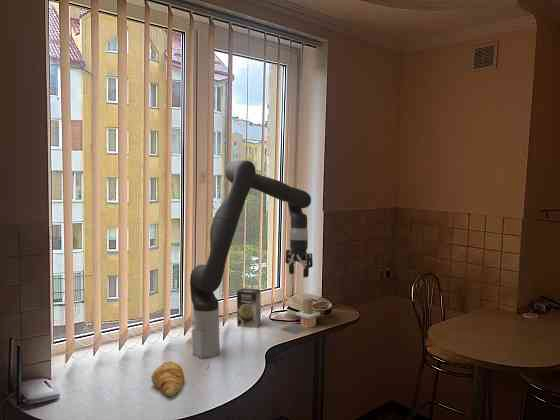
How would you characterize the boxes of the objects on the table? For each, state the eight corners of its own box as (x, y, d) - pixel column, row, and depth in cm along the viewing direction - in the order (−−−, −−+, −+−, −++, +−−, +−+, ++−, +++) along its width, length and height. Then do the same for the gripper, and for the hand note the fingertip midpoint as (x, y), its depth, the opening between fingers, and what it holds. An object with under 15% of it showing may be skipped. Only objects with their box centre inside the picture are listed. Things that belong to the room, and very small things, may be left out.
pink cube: (308, 329, 200) (308, 318, 200) (297, 325, 205) (297, 314, 205) (318, 325, 205) (318, 314, 204) (307, 322, 209) (307, 311, 209)
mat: (294, 335, 193) (294, 334, 193) (280, 330, 199) (280, 329, 199) (308, 330, 199) (308, 329, 199) (294, 325, 205) (294, 324, 205)
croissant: (181, 408, 143) (193, 384, 143) (150, 398, 140) (162, 374, 140) (174, 377, 163) (184, 356, 163) (147, 368, 160) (157, 347, 160)
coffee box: (236, 327, 204) (236, 291, 202) (242, 323, 210) (241, 287, 208) (256, 329, 201) (255, 292, 200) (261, 324, 207) (260, 289, 206)
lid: (308, 318, 199) (308, 303, 198) (295, 314, 205) (295, 299, 204) (320, 314, 204) (320, 299, 204) (307, 311, 210) (307, 296, 209)
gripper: (281, 237, 203) (280, 274, 204) (304, 240, 192) (304, 279, 193) (293, 235, 208) (293, 271, 209) (317, 239, 197) (316, 277, 198)
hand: (298, 275), depth 201 cm, fingers open, 8 cm apart
